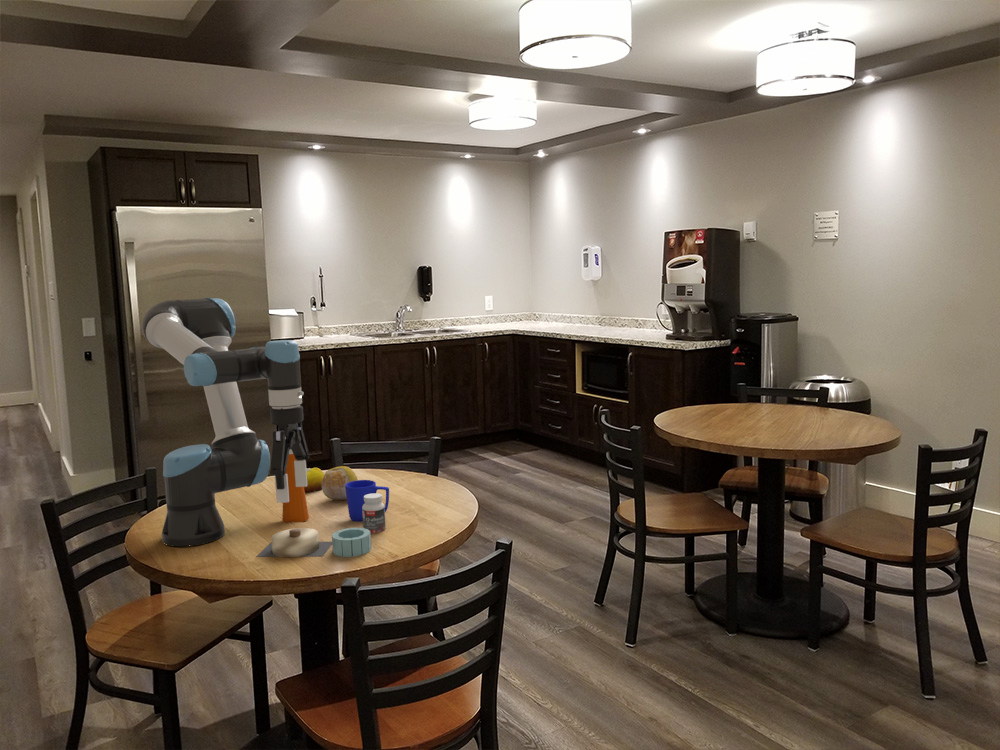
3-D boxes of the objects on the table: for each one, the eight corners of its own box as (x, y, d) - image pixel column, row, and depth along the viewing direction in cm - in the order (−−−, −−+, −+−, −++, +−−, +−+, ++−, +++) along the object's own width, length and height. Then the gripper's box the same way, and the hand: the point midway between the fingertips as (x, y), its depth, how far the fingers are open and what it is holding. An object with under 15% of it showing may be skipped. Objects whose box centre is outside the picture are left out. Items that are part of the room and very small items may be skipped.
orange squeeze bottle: (309, 511, 222) (302, 420, 219) (309, 522, 212) (302, 427, 208) (283, 513, 220) (276, 422, 217) (282, 525, 210) (275, 429, 207)
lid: (265, 557, 184) (264, 538, 183) (281, 541, 194) (280, 523, 194) (311, 557, 183) (310, 538, 182) (325, 541, 194) (323, 523, 193)
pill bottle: (366, 538, 198) (364, 500, 197) (361, 531, 203) (358, 494, 202) (388, 534, 200) (386, 496, 199) (382, 528, 205) (380, 491, 204)
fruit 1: (314, 480, 254) (316, 458, 252) (330, 495, 247) (333, 473, 245) (282, 487, 247) (284, 464, 244) (298, 502, 240) (301, 479, 237)
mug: (385, 525, 208) (383, 488, 206) (342, 523, 210) (340, 487, 209) (395, 515, 215) (393, 480, 214) (354, 514, 218) (351, 479, 217)
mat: (256, 560, 184) (255, 556, 184) (271, 545, 194) (271, 542, 194) (322, 560, 183) (322, 556, 183) (334, 545, 193) (334, 541, 193)
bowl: (329, 560, 183) (327, 540, 182) (339, 547, 192) (338, 527, 191) (366, 560, 182) (365, 539, 182) (374, 547, 191) (373, 527, 190)
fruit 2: (328, 495, 238) (326, 463, 237) (363, 495, 237) (361, 462, 236) (317, 505, 228) (315, 471, 227) (353, 505, 227) (351, 471, 225)
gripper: (283, 415, 171) (290, 509, 174) (317, 397, 196) (323, 479, 199) (250, 416, 172) (257, 509, 175) (288, 398, 197) (294, 480, 199)
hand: (292, 494), depth 187 cm, fingers open, 13 cm apart
